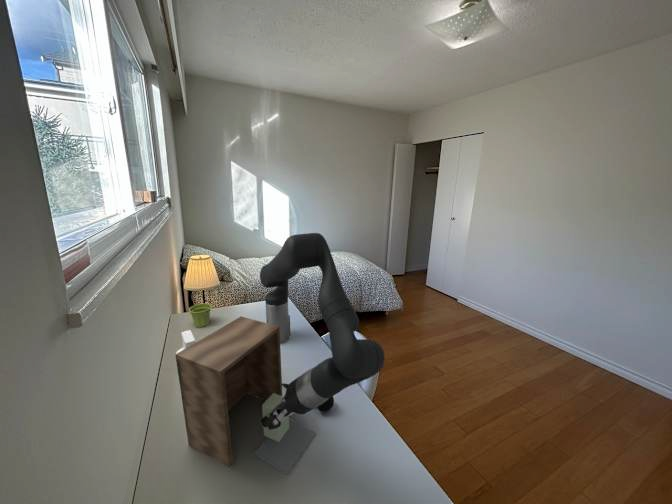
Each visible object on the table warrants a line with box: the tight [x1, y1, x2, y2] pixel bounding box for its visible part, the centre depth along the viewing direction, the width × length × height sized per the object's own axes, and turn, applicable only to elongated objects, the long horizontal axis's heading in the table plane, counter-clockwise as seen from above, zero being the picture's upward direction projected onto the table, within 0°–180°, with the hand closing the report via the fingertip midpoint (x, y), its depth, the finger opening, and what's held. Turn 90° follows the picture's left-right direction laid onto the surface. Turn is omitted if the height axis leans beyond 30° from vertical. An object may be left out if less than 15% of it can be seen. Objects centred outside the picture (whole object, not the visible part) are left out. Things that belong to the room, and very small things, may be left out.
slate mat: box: [254, 418, 317, 476], centre depth 69 cm, size 12×10×1 cm
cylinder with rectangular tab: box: [175, 329, 196, 354], centre depth 98 cm, size 9×9×12 cm
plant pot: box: [188, 303, 212, 328], centre depth 127 cm, size 9×9×9 cm
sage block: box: [261, 393, 290, 442], centre depth 68 cm, size 4×4×9 cm
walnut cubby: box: [175, 316, 283, 468], centre depth 72 cm, size 14×21×26 cm, turn 156°
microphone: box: [282, 382, 335, 412], centre depth 84 cm, size 6×6×20 cm
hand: (269, 415), depth 69 cm, fingers closed on sage block, 4 cm apart
